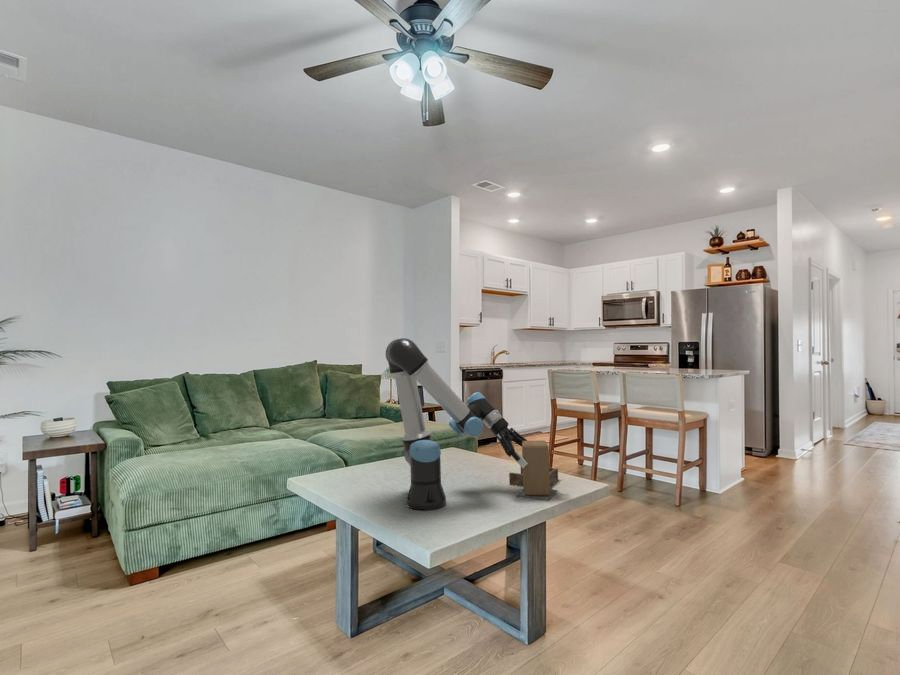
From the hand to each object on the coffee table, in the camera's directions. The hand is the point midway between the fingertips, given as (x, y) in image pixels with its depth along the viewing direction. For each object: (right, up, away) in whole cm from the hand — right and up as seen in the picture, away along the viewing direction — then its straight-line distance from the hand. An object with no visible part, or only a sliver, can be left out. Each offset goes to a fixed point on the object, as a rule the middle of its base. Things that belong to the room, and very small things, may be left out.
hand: (531, 462), depth 192 cm
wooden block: (+2, -12, -1) cm, 12 cm away
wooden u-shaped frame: (+5, -13, +16) cm, 21 cm away
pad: (+2, -13, -1) cm, 13 cm away
